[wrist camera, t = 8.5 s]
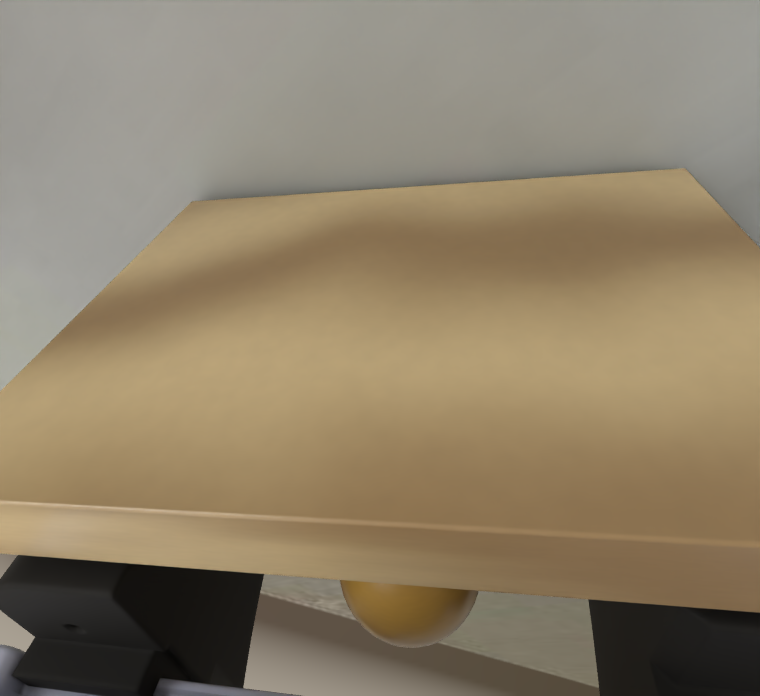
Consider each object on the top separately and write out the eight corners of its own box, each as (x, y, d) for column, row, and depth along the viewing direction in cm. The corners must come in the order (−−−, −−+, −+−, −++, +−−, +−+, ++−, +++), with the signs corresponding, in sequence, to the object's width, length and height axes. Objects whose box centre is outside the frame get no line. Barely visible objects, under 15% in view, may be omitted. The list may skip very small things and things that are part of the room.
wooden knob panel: (686, 167, 11) (627, 376, 15) (191, 200, 13) (258, 376, 17) (1058, 562, 4) (765, 750, 8) (-109, 496, 6) (121, 671, 10)
